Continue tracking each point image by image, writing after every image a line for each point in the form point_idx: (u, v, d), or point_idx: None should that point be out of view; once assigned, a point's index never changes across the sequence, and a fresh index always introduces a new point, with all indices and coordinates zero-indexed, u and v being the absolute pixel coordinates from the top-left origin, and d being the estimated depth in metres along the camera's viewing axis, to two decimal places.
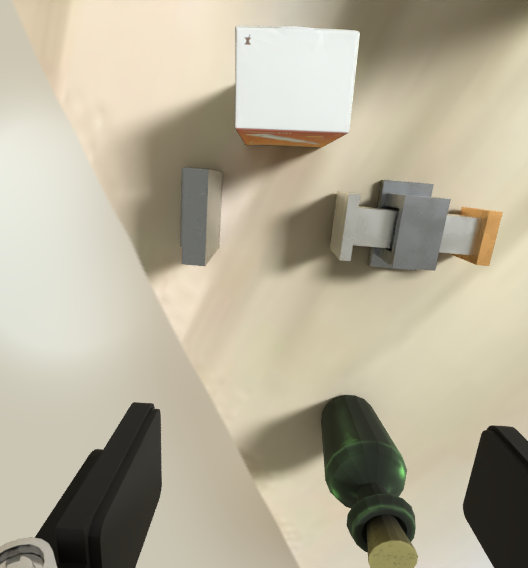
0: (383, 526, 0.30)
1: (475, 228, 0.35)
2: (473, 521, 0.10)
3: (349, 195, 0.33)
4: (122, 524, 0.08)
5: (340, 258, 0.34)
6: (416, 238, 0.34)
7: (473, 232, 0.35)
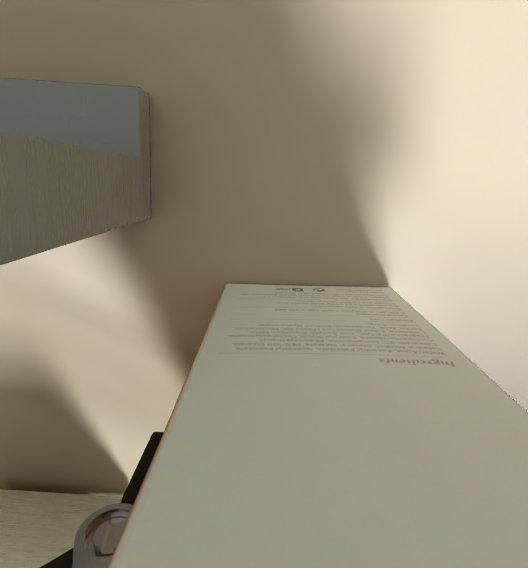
0: None
1: None
2: None
3: None
4: None
5: None
6: None
7: None
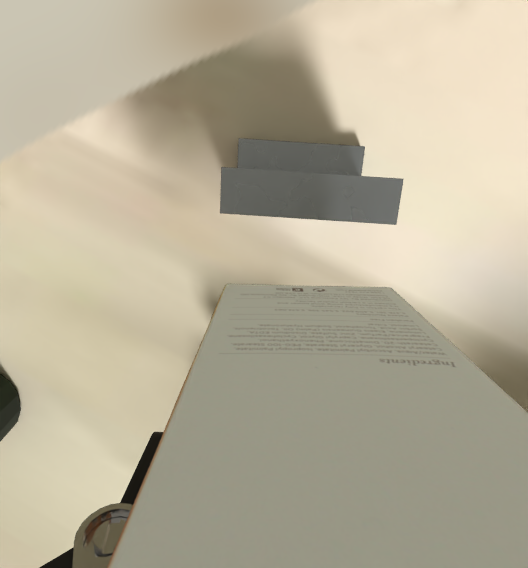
0: None
1: None
2: None
3: None
4: None
5: None
6: None
7: None
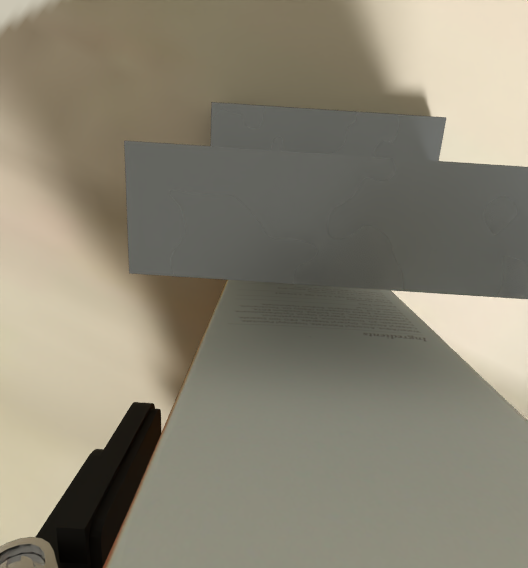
0: None
1: None
2: None
3: None
4: None
5: None
6: None
7: None
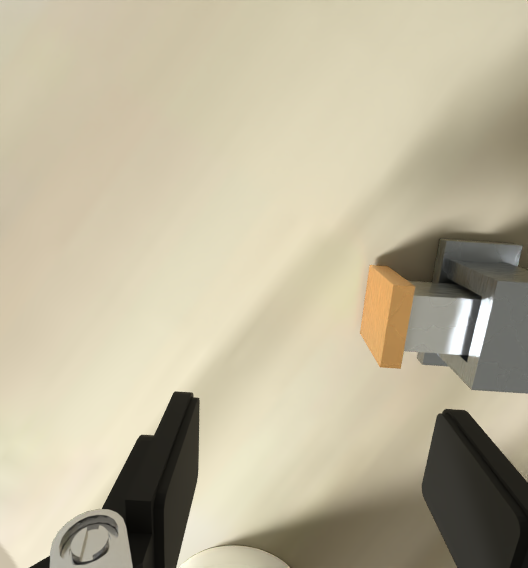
0: None
1: (408, 336, 0.22)
2: (429, 499, 0.11)
3: None
4: (175, 501, 0.08)
5: None
6: (527, 333, 0.20)
7: (410, 330, 0.22)
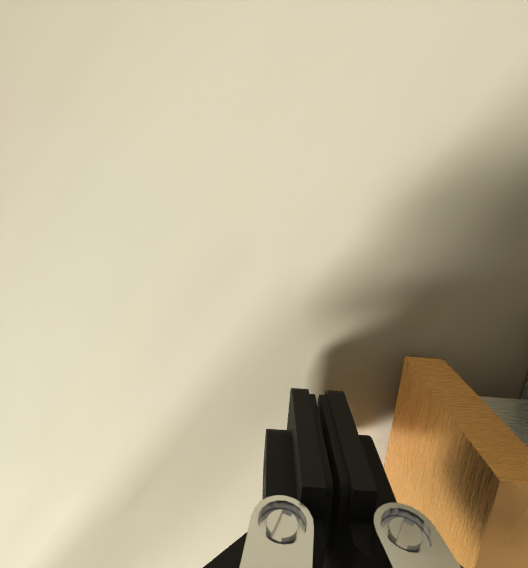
0: None
1: None
2: None
3: None
4: None
5: None
6: None
7: None
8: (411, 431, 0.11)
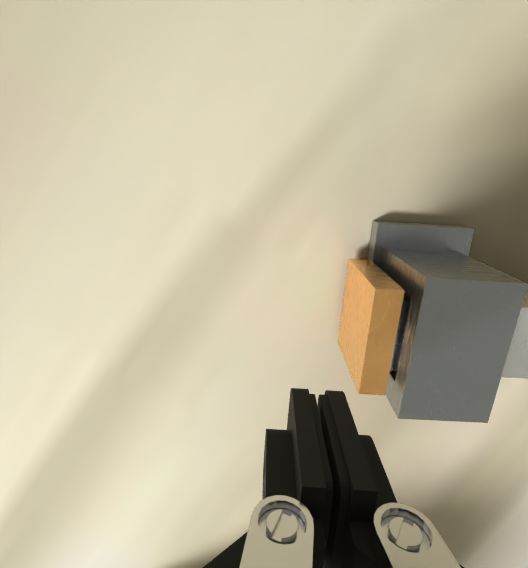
0: None
1: (395, 353, 0.17)
2: None
3: None
4: None
5: None
6: (468, 346, 0.15)
7: (398, 345, 0.17)
8: (350, 297, 0.19)
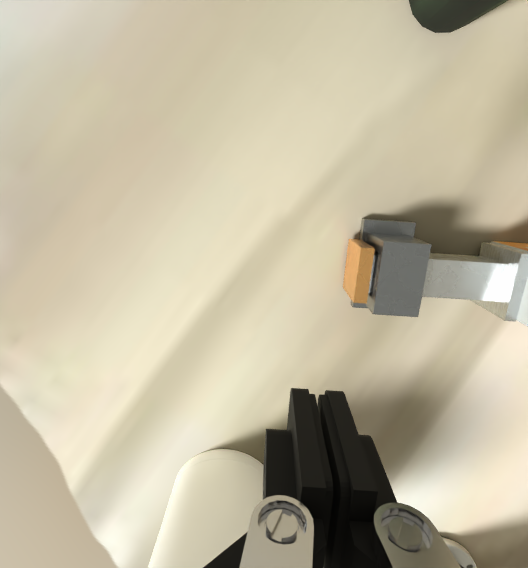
0: None
1: (372, 283, 0.33)
2: None
3: (515, 319, 0.32)
4: None
5: None
6: (405, 275, 0.32)
7: (373, 279, 0.33)
8: (349, 258, 0.36)
